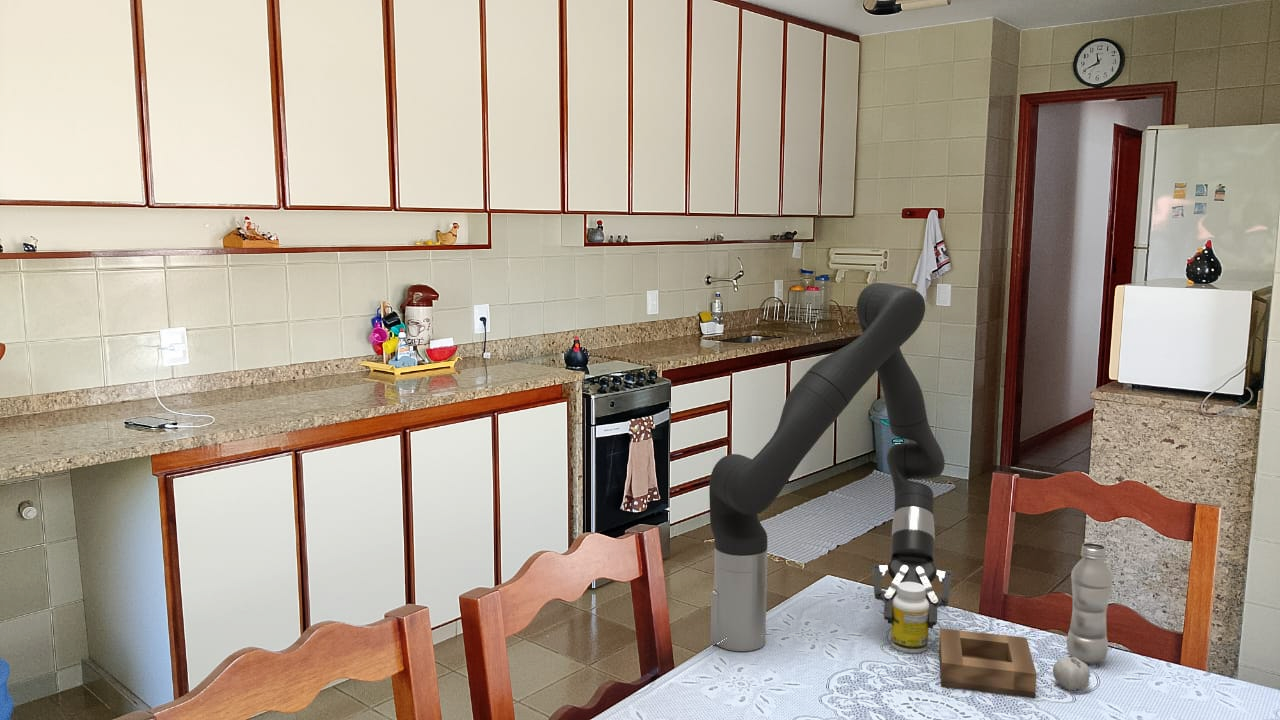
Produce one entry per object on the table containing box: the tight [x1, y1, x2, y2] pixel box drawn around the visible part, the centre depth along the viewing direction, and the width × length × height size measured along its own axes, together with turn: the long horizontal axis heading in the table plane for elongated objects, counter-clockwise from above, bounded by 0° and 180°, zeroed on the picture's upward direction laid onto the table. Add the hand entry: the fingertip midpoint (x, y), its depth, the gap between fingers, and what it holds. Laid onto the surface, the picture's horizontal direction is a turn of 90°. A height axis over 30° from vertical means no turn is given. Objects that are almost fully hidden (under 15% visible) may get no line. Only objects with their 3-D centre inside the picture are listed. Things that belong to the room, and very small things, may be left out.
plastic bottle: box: [1065, 542, 1113, 665], centre depth 161 cm, size 6×7×20 cm
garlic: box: [1052, 656, 1091, 691], centre depth 153 cm, size 6×5×5 cm
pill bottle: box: [890, 582, 929, 654], centre depth 167 cm, size 6×6×11 cm
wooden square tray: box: [938, 627, 1037, 699], centre depth 157 cm, size 14×14×4 cm
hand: (910, 623), depth 165 cm, fingers closed on pill bottle, 6 cm apart
